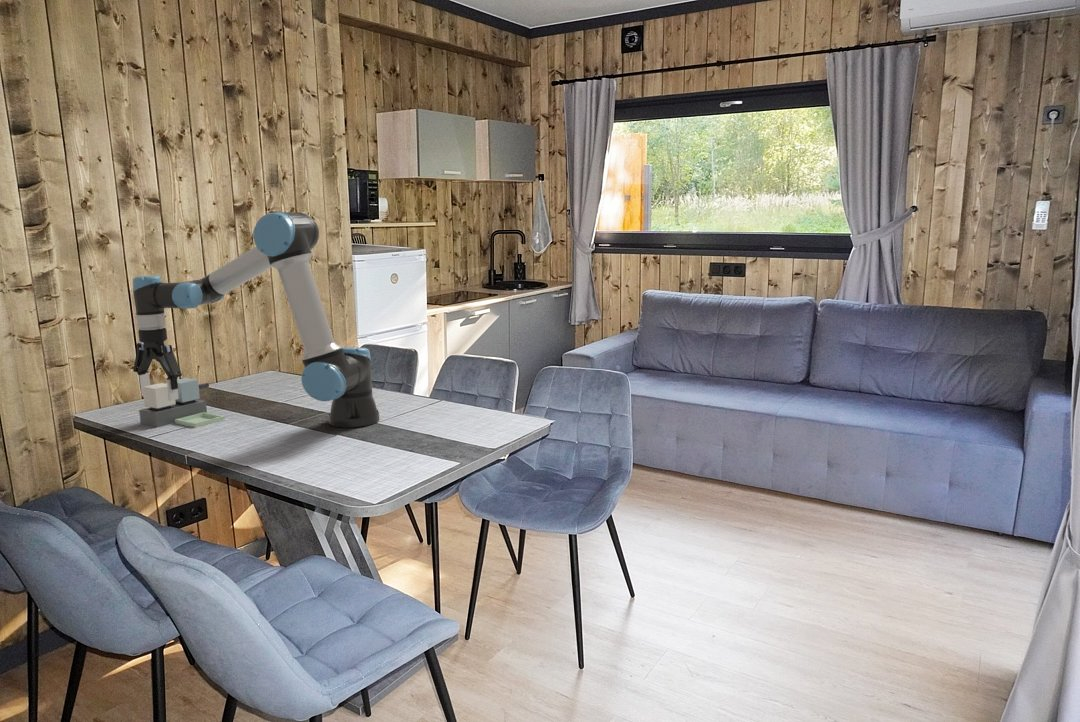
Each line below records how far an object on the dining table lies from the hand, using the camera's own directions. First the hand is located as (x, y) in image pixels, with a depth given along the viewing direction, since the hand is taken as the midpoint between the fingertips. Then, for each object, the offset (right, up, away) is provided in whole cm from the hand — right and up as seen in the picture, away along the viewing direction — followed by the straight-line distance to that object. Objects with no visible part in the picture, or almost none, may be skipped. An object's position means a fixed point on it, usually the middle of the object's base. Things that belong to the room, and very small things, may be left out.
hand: (160, 397), depth 229 cm
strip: (+3, -7, +7) cm, 10 cm away
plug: (0, -7, +1) cm, 7 cm away
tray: (+11, -8, +2) cm, 14 cm away
